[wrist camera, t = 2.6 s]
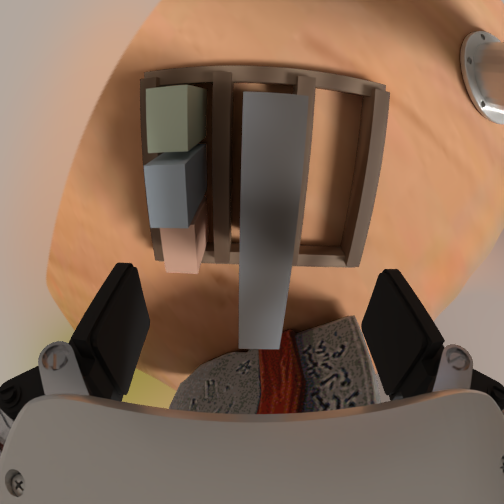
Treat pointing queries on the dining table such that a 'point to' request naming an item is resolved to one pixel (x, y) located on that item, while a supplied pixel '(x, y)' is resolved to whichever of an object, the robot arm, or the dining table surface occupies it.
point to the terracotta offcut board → (186, 243)
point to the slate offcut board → (175, 187)
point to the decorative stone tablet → (287, 375)
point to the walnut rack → (365, 166)
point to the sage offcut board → (175, 118)
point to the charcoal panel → (268, 211)
